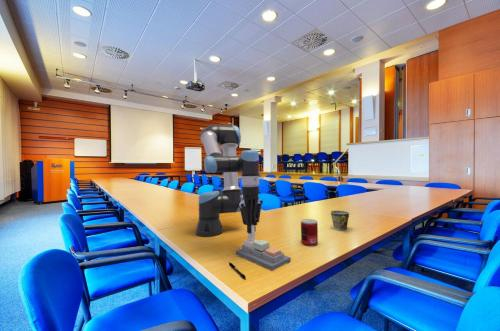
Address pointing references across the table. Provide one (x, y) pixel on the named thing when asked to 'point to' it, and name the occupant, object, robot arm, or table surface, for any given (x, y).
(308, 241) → the canned food
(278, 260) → the keypad
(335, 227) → the ceramic cup
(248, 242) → the key ivory
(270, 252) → the key terracotta
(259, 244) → the key green
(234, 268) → the pen
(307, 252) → the table surface
